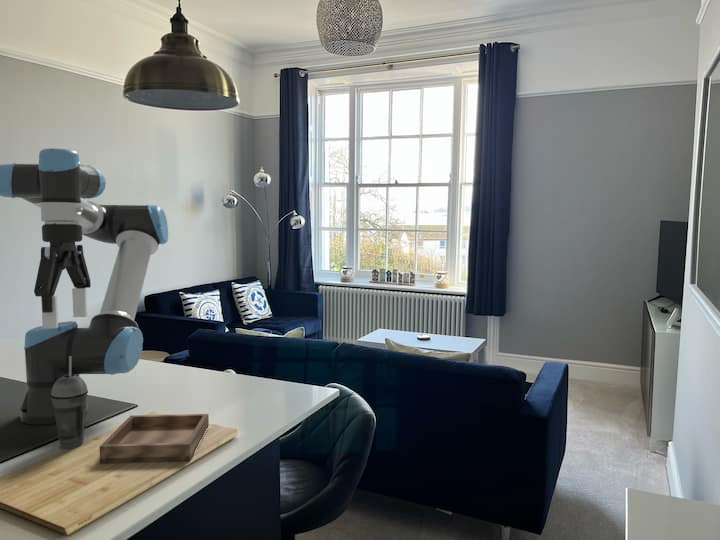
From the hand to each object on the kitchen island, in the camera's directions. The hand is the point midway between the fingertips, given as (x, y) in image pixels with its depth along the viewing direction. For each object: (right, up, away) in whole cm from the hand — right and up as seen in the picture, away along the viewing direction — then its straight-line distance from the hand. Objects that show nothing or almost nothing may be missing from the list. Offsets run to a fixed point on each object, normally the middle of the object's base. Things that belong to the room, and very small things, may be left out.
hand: (66, 322), depth 117 cm
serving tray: (+19, -27, +3) cm, 33 cm away
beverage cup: (0, -27, +2) cm, 28 cm away
